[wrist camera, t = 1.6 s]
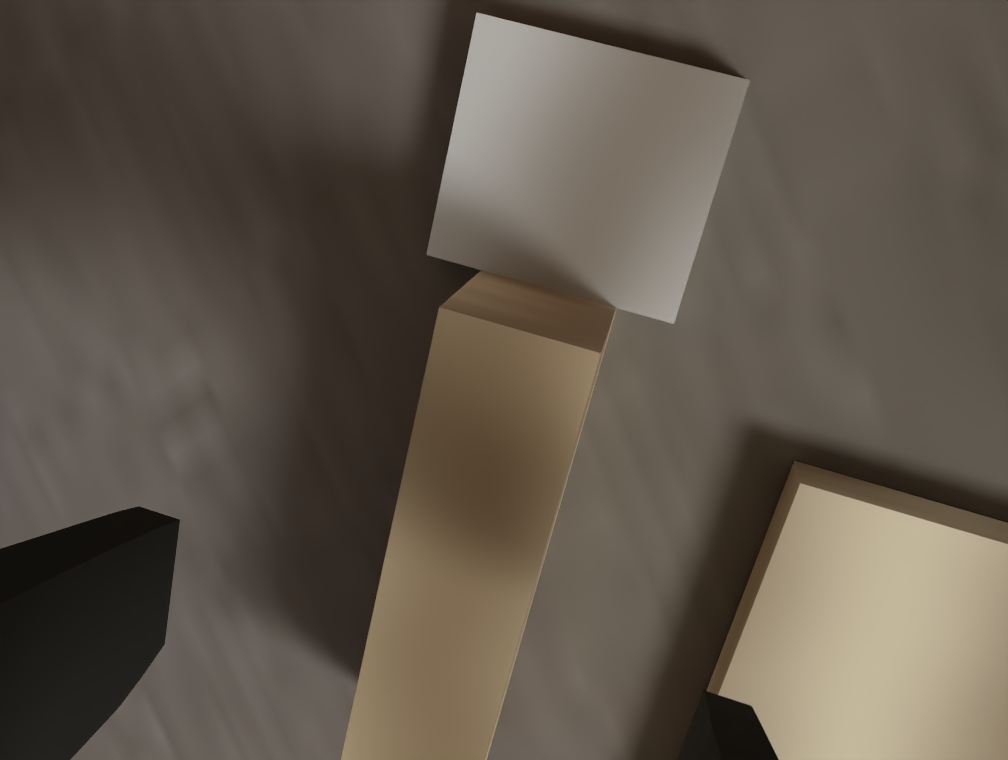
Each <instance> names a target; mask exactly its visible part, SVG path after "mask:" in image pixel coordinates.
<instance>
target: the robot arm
mask: <svg viewBox="0 0 1008 760" xmlns="http://www.w3.org/2000/svg"><path fill="white" fill-rule="evenodd" d="M179 523H180V520H179V519H176V518H173V517H170V516H167V515H163V514H160V513H157V512H154V511H151V510H148V509H145V508H142V507H135V508H131V509H127V510H123V511H119V512H116V513H112V514H109V515H105V516H102V517H99V518H96V519H93V520H89V521H86V522H83V523H80V524H77V525H74V526H71V527H68V528H64V529H61V530H58V531H55V532H52V533H49V534H46V535H43V536H40V537H36V538H33V539H30V540H27V541H24V542H21V543H17V544H14V545H11V546H8V547H5V548H2V549H0V760H70V759H71V758H72V757H73V756H74V755H75V754H76V753H77V752H78V751H79V750H80V749H81V747H82V746H83V745H84V744H85V743H86V742H87V741H88V740H89V739H90V738H91V737H92V736H93V735H94V734H95V732H96V731H97V730H98V729H99V728H100V727H101V726H102V725H103V724H104V723H105V722H106V721H107V720H108V718H109V717H110V716H111V715H112V714H113V713H114V712H115V711H116V710H117V709H118V707H119V706H120V705H121V704H122V702H123V701H124V700H125V698H126V697H127V696H128V694H129V693H130V692H131V690H132V689H133V688H134V686H135V685H136V684H137V682H138V681H139V680H140V678H141V677H142V676H143V674H144V673H145V671H146V670H147V668H148V667H149V666H150V664H151V663H152V661H153V660H154V659H155V657H156V656H157V654H158V653H159V651H160V650H161V649H162V647H163V646H164V644H165V637H166V628H167V620H168V612H169V604H170V596H171V588H172V580H173V571H174V563H175V555H176V547H177V539H178V531H179ZM678 760H779V759H778V757H777V755H776V753H775V751H774V749H773V747H772V745H771V743H770V741H769V739H768V737H767V735H766V733H765V731H764V729H763V727H762V725H761V723H760V721H759V719H758V717H757V715H756V713H755V711H754V709H753V707H752V706H751V705H748V704H744V703H741V702H738V701H735V700H732V699H729V698H726V697H723V696H720V695H717V694H714V693H711V692H708V691H705V690H704V692H703V694H702V697H701V699H700V702H699V705H698V707H697V710H696V713H695V715H694V718H693V720H692V723H691V726H690V728H689V731H688V734H687V736H686V739H685V741H684V744H683V747H682V749H681V752H680V755H679V757H678Z"/></svg>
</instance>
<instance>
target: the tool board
mask: <svg viewBox="0 0 1008 760" xmlns="http://www.w3.org/2000/svg"><path fill="white" fill-rule="evenodd" d="M706 691H708V692H711V693H714V694H717V695H720V696H723V697H726V698H729V699H732V700H735V701H738V702H741V703H744V704H748V705H751V706H752V707H753V709H754V711H755V713H756V715H757V717H758V719H759V721H760V723H761V725H762V727H763V729H764V731H765V733H766V735H767V737H768V739H769V741H770V743H771V745H772V747H773V749H774V751H775V753H776V755H777V757H778V759H779V760H1008V523H1007V522H1003V521H1000V520H996V519H993V518H990V517H986V516H983V515H979V514H976V513H972V512H969V511H966V510H962V509H959V508H955V507H952V506H948V505H945V504H942V503H938V502H935V501H931V500H928V499H924V498H921V497H917V496H914V495H911V494H907V493H904V492H900V491H897V490H893V489H890V488H887V487H883V486H880V485H876V484H873V483H869V482H866V481H863V480H859V479H856V478H852V477H849V476H845V475H842V474H839V473H835V472H832V471H828V470H825V469H821V468H818V467H815V466H811V465H808V464H804V463H801V462H797V461H794V462H793V465H792V468H791V470H790V473H789V475H788V478H787V481H786V483H785V486H784V488H783V491H782V494H781V496H780V499H779V502H778V504H777V507H776V509H775V512H774V515H773V517H772V520H771V523H770V525H769V528H768V530H767V533H766V536H765V538H764V541H763V544H762V546H761V549H760V551H759V554H758V557H757V559H756V562H755V565H754V567H753V570H752V572H751V575H750V578H749V580H748V583H747V585H746V588H745V591H744V593H743V596H742V599H741V601H740V604H739V606H738V609H737V612H736V614H735V617H734V620H733V622H732V625H731V627H730V630H729V633H728V635H727V638H726V641H725V643H724V646H723V648H722V651H721V654H720V656H719V659H718V662H717V664H716V667H715V669H714V672H713V675H712V677H711V680H710V683H709V685H708V688H707V690H706Z"/></svg>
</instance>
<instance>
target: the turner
mask: <svg viewBox="0 0 1008 760" xmlns="http://www.w3.org/2000/svg"><path fill="white" fill-rule="evenodd" d="M749 82H750V80H747V79H743V78H739V77H735V76H731V75H727V74H723V73H719V72H715V71H711V70H707V69H703V68H699V67H695V66H691V65H687V64H683V63H679V62H675V61H671V60H667V59H663V58H659V57H655V56H650V55H646V54H642V53H638V52H634V51H630V50H626V49H622V48H618V47H614V46H610V45H606V44H602V43H598V42H594V41H590V40H586V39H582V38H578V37H574V36H570V35H566V34H562V33H558V32H553V31H549V30H545V29H541V28H537V27H533V26H529V25H525V24H521V23H517V22H513V21H509V20H505V19H501V18H497V17H493V16H489V15H485V14H481V13H476V17H475V22H474V27H473V32H472V37H471V42H470V46H469V51H468V56H467V61H466V66H465V71H464V75H463V80H462V85H461V90H460V95H459V100H458V104H457V109H456V114H455V119H454V124H453V128H452V133H451V138H450V143H449V148H448V153H447V157H446V162H445V167H444V172H443V177H442V182H441V186H440V191H439V196H438V201H437V206H436V210H435V215H434V220H433V225H432V230H431V235H430V239H429V244H428V249H427V254H426V255H429V256H432V257H436V258H439V259H443V260H447V261H450V262H454V263H457V264H461V265H464V266H468V267H472V268H475V269H479V270H481V271H480V272H479V273H477V274H476V275H475V276H474V277H473V278H472V279H471V280H470V281H468V282H467V283H466V284H465V285H464V286H463V287H462V288H460V289H459V290H458V291H457V292H456V293H455V294H454V295H452V296H451V297H450V298H449V299H448V300H447V301H446V302H444V303H443V304H442V305H441V306H440V307H439V310H438V315H437V319H436V324H435V328H434V333H433V338H432V342H431V347H430V352H429V356H428V361H427V365H426V370H425V375H424V379H423V384H422V388H421V393H420V398H419V402H418V407H417V412H416V416H415V421H414V425H413V430H412V435H411V439H410V444H409V448H408V453H407V458H406V462H405V467H404V472H403V476H402V481H401V485H400V490H399V495H398V499H397V504H396V508H395V513H394V518H393V522H392V527H391V532H390V536H389V541H388V545H387V550H386V555H385V559H384V564H383V568H382V573H381V578H380V582H379V587H378V592H377V596H376V601H375V605H374V610H373V615H372V619H371V624H370V628H369V633H368V638H367V642H366V647H365V652H364V656H363V661H362V665H361V670H360V675H359V679H358V684H357V688H356V693H355V698H354V702H353V707H352V712H351V716H350V721H349V725H348V730H347V735H346V739H345V744H344V748H343V753H342V758H341V760H487V756H488V753H489V750H490V746H491V743H492V740H493V736H494V733H495V730H496V726H497V723H498V719H499V716H500V712H501V709H502V705H503V702H504V698H505V695H506V691H507V688H508V684H509V681H510V677H511V674H512V670H513V667H514V663H515V660H516V657H517V653H518V650H519V646H520V643H521V639H522V636H523V632H524V629H525V625H526V622H527V618H528V615H529V611H530V608H531V604H532V601H533V597H534V594H535V590H536V587H537V584H538V580H539V577H540V573H541V570H542V566H543V563H544V559H545V556H546V552H547V549H548V545H549V542H550V538H551V535H552V531H553V528H554V524H555V521H556V517H557V514H558V511H559V507H560V504H561V500H562V497H563V493H564V490H565V486H566V483H567V479H568V476H569V472H570V469H571V465H572V462H573V458H574V455H575V451H576V448H577V444H578V441H579V437H580V434H581V431H582V427H583V424H584V420H585V417H586V413H587V410H588V406H589V403H590V399H591V396H592V392H593V389H594V385H595V382H596V378H597V375H598V371H599V368H600V364H601V361H602V358H603V354H604V351H605V347H606V344H607V340H608V337H609V333H610V330H611V326H612V323H613V319H614V316H615V312H616V309H617V308H619V309H622V310H626V311H629V312H633V313H636V314H640V315H644V316H647V317H651V318H654V319H658V320H662V321H665V322H669V323H672V324H674V322H675V319H676V315H677V312H678V309H679V306H680V303H681V299H682V296H683V293H684V290H685V287H686V283H687V280H688V277H689V274H690V271H691V267H692V264H693V261H694V258H695V255H696V251H697V248H698V245H699V242H700V239H701V235H702V232H703V229H704V226H705V223H706V219H707V216H708V213H709V210H710V207H711V203H712V200H713V197H714V194H715V191H716V187H717V184H718V181H719V178H720V175H721V171H722V168H723V165H724V162H725V159H726V155H727V152H728V149H729V146H730V143H731V139H732V136H733V133H734V130H735V127H736V123H737V120H738V117H739V114H740V111H741V107H742V104H743V101H744V98H745V95H746V91H747V88H748V85H749Z"/></svg>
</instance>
